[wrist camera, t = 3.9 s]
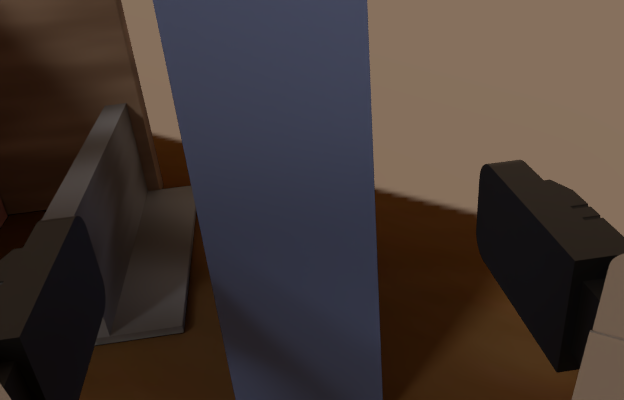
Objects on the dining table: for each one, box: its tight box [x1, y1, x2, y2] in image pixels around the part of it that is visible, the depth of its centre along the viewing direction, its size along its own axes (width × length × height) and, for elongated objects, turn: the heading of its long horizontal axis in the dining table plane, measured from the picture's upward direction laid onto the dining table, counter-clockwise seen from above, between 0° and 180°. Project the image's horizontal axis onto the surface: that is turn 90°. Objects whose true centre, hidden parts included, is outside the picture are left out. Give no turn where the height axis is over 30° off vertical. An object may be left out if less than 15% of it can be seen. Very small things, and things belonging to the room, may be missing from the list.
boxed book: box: [153, 0, 383, 400], centre depth 18 cm, size 10×4×14 cm, turn 7°
